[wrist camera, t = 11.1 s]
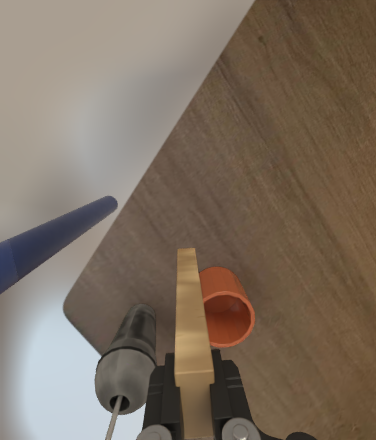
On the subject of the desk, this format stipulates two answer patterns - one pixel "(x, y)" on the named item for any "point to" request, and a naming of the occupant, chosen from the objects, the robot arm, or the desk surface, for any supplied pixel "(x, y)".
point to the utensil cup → (225, 307)
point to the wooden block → (192, 349)
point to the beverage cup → (127, 365)
